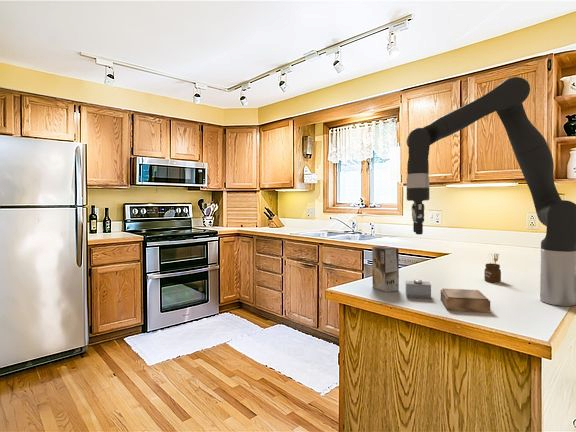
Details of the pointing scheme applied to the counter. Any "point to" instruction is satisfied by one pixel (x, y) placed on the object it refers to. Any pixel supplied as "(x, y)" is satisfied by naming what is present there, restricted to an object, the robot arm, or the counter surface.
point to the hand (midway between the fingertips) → (417, 233)
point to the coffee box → (385, 268)
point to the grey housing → (418, 289)
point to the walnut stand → (465, 300)
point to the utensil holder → (492, 271)
